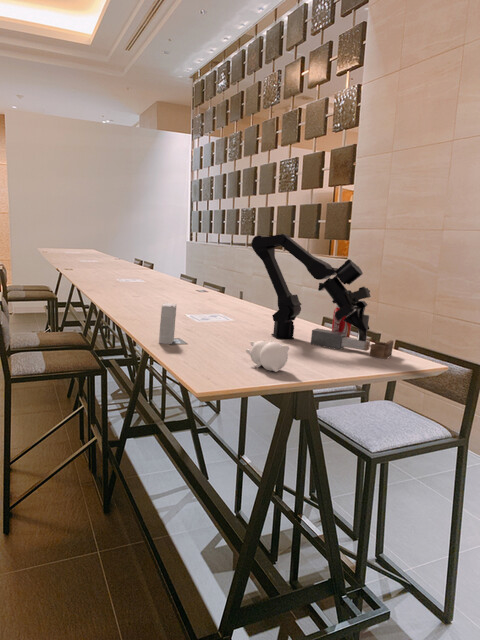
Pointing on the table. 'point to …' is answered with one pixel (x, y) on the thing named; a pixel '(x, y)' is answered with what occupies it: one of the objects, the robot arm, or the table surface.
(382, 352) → the brown notched block
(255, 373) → the table surface
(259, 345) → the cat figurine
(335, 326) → the soda can
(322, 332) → the grey rectangular block
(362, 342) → the sliding bolt
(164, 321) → the skincare box
